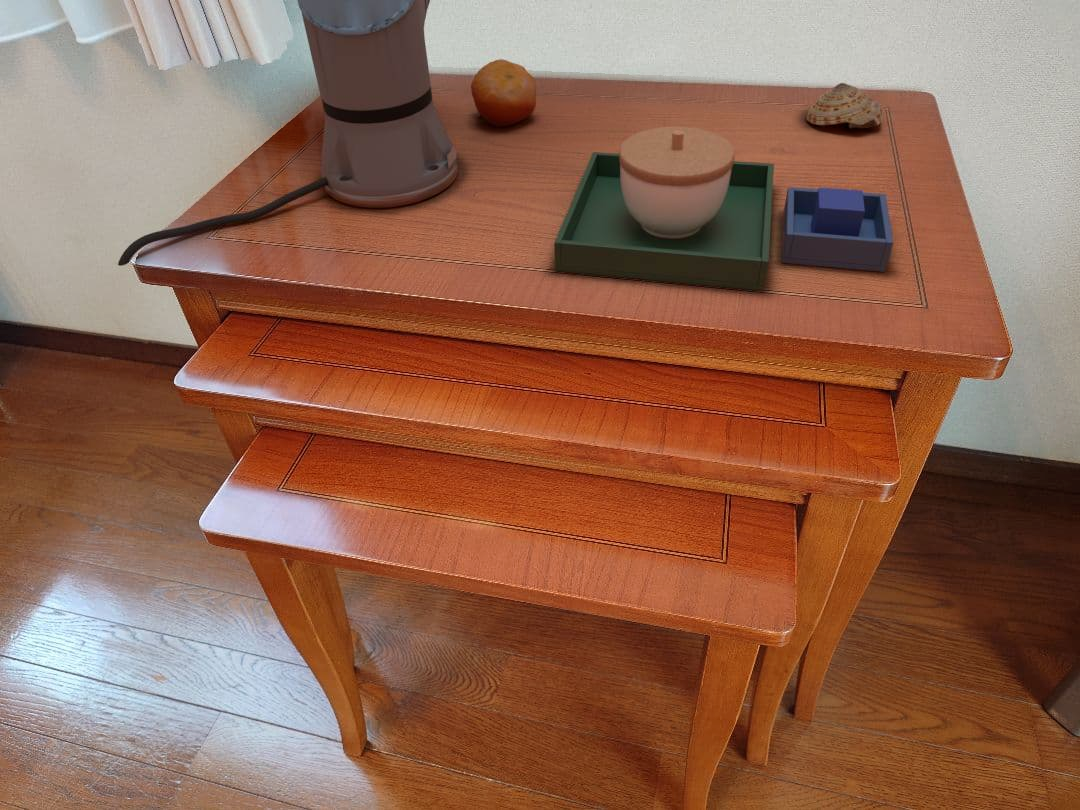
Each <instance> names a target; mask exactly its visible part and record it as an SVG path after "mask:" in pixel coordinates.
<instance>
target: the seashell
mask: <svg viewBox="0 0 1080 810" xmlns="http://www.w3.org/2000/svg"><path fill="white" fill-rule="evenodd" d="M805 119H806V121H808V123H810V124H813V125H818V126H828V125H830V126H831V125H839V124H845V123H848V125H847V127H848V128H849V129H853V128H854V129H855V128H857V129H865V128H872V127H875V126H879V125H880V124H881V123H882V122H883V119H884V112H883V110H882V107H881V106H880V104H879V103H878V102H877V101H875V100H874V99H872V98H871V97H869V95H867V93H865V92H863V91H862V89H860V88H858V87H856V86H853V85H852V84H851V85H850V84H847V83H844V82H840V83H838V84H836V85H835V86H833V87H831V88H830V89H828V90H827V91H826V92H824V93H823V94H822V95H820V96H819V97H818V98H817V100H816V101H815V102H813V104H811V106H810V107H809V108H808V110H807V113H806V116H805Z"/></svg>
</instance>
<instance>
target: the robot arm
mask: <svg viewBox="0 0 1080 810" xmlns="http://www.w3.org/2000/svg"><path fill="white" fill-rule="evenodd" d="M296 2H297V6H298V8H299V10H300V12H301V16H302V20H303V25H304V26H303V27H304V30H305V35H306V38H307V43H308V47H309V52H310V56H311V61H312V64H313V69H314V73H315V78H316V83H317V86H318V91H319V95H320V99H321V104H322V108H323V113H324V129H323V136H322V137H323V139H322V148H321V157H320V159H321V160H320V172H321V173H320V174H321V178H320V179H317V180H314V181H313V182H311V183H308V184H306V185H304V186H302V187H299V188H297V189H295V190H293V191H291V192H288V193H286V194H284V195H283V196H280V197H279V198H277V199H275V200H273V201H271V202H269V203H267V204H265V205H263V206H260V207H257V208H255V209H253V210H250V211H249V210H248V211H246V212H241V213H233V214H226V215H221V216H218V217H213V218H209V219H206V220H201V221H198V222H195V223H192V224H188V225H184V226H180V227H175V228H174V227H173V228H168V229H162V230H158V231H154V232H151V233H148V234H145V235H143V236H141V237H139V238H138V239H136V240H134V241H133V242H132V243H130V244H129V246H127V248H126V249H125V250H124V251H123V253H122V254H121V256H120V258H119V260H118V262H117V266H118V267H120V266H121V267H122V266H125V265H127V264H129V263H130V261H131V260H132V259H133V257H134V256H135V255H136V254H137V252H139V251H140V250H141V249H143V248H144V247H145V246H148V245H149V244H152V243H154V242H155V243H156V242H158V241H162V240H167V239H173V238H177V237H183V236H187V235H191V234H192V235H193V234H195V233H198V232H201V231H204V230H208V229H212V228H216V227H220V226H225V225H230V224H236V223H243V222H249V221H253V220H256V219H259V218H261V217H264V216H266V215H268V214H270V213H272V212H275V211H277V210H278V209H281V208H282V207H284V206H285V205H288V204H290V203H292V202H293V201H296V200H298V199H300V198H302V197H305V196H306V195H310V194H311V193H314V192H315V191H318V190H320V189H324V190H325V192H326V193H327V194H328V196H330V197H331V198H333V199H334V200H336V201H338V202H339V203H340V202H341V203H343V204H345V205H349V206H355V207H360V208H369V209H370V208H371V209H373V208H375V209H377V208H379V209H380V208H382V209H383V208H393V207H401V206H407V205H411V204H414V203H418V202H422V201H424V200H427V199H429V198H432V197H434V196H435V195H438V194H440V193H442V192H443V191H445V190H446V189H447V188H448V187H450V186H451V185H452V184H453V182H454V181H455V180H456V178H457V175H458V172H459V170H458V169H459V168H458V159H457V148H456V144H454V145H453V143H452V141H451V138H450V137H449V135H448V133H447V130H446V128H445V126H444V124H443V122H442V119H441V117H440V115H439V113H438V111H437V109H436V107H435V104H434V99H433V92H432V86H431V78H430V77H431V76H430V70H429V61H428V54H427V46H426V38H425V23H426V19H427V13H428V9H429V6H430V3H431V0H296Z"/></svg>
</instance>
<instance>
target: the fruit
mask: <svg viewBox="0 0 1080 810" xmlns="http://www.w3.org/2000/svg"><path fill="white" fill-rule="evenodd" d="M470 90H471V95H472V99H473V103H474V106H475V109H476V111H477V112H478V113H479V114H478V115H477V117H482V118H483V119H484V121H486V122H488V123H489V124H492V125H494V126H495V127H497V128H505V127H508V126H511V125H514V124H517V123H518V122H520V121H523V120H524V119H526V118H528V117H529V116H530V115H531V114H532V113H533V112H534V111H535V110H536V106H537V89H536V80H535V78H534V77H533V76H532V75H531V74H530V73H529V72H528V70H527V69H526V68H525V66H523V65H521V64H518V63H515V62H512V61H508V60H507V59H503V58H500V59H496V60H493V61H489V62H488V63H487V64H485V65H484V66H482V67H481V68H480V69H479V70H478V71H477V73H475V75H474V77H473V79H472V81H471V83H470Z"/></svg>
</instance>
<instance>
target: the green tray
mask: <svg viewBox="0 0 1080 810" xmlns="http://www.w3.org/2000/svg"><path fill="white" fill-rule="evenodd" d="M774 170H775V163H770V162H755V161H754V162H753V161H741V160H740V161H739V160H738V161H737V160H734V163H733V166H732V171H731V177H730V182H729V186H728V190H727V194H726V197H725V199H724V202H723V204H722V206H721V207H720V209H719V211H718V212H717V214H716V215H715V216H714V217H713V218H712V219H711V220H710V221H709V222H708V223H707V224H705V225H704V226H702V227H701V229H700V230H699V231H698V232H697V233H695V234H693V235H691V236H688V237H684V238H676V239H669V238H661V237H657V236H654V235H651V234H649V233H648V232H646V231H645V230H644V229H643V228H642V226H641V224H640V223H638V222H637V221H636V220H635V219H634V217H633V216H632V215H631V214H630V212H629V211H628V209H627V207H626V204H625V202H624V199H623V194H622V190H621V182H620V161H619V153H614V152H597V151H593V152H592V153H591V156H590V158H589V160H588V163H587V165H586V167H585V170H584V172H583V174H582V176H581V179H580V181H579V183H578V186H577V188H576V191H575V192H574V196H573V198H572V200H571V203H570V205H569V207H568V209H567V211H566V214H565V217H564V219H563V221H562V224H561V226H560V228H559V230H558V233H557V236H556V238H555V240H554V242H553V243H554V244H553V246H554V271H555V272H564V273H572V274H574V273H575V274H584V275H593V276H595V275H596V276H605V277H616V278H624V279H625V278H627V279H635V280H648V281H656V282H657V281H658V282H667V283H676V284H688V285H698V286H708V287H709V286H710V287H719V288H731V289H739V290H740V289H741V290H752V291H761V292H763V291H764V290H765V285H766V279H767V274H768V267H769V262H770V261H769V260H770V244H771V228H772V227H771V225H772V223H771V222H772V211H773V210H772V207H773V190H774V189H773V188H774V172H775V171H774Z"/></svg>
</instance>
